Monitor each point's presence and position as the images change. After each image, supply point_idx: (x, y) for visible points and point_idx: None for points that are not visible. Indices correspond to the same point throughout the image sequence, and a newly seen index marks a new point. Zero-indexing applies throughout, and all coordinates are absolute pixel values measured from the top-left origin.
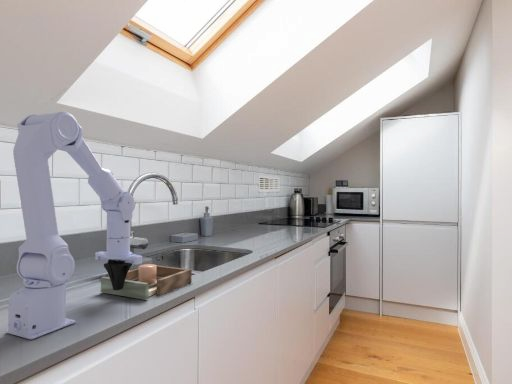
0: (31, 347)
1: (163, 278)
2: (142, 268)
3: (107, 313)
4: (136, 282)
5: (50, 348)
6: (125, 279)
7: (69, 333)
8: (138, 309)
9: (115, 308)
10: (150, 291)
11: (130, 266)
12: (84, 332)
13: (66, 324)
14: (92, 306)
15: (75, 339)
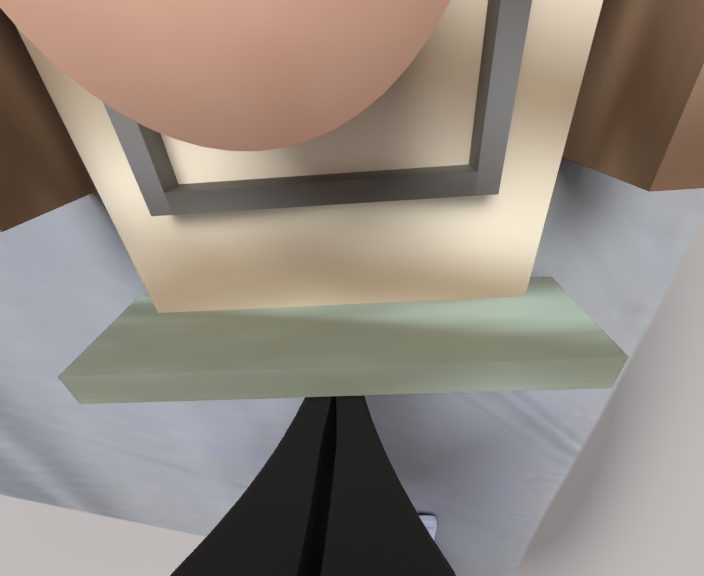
0: (458, 570)
1: None
2: (291, 145)
3: (465, 452)
4: (495, 386)
5: (500, 565)
6: (9, 97)
7: (476, 536)
8: (573, 390)
9: (454, 417)
10: (540, 229)
11: (440, 554)
12: (511, 526)
13: (434, 534)
14: None
15: (520, 543)
